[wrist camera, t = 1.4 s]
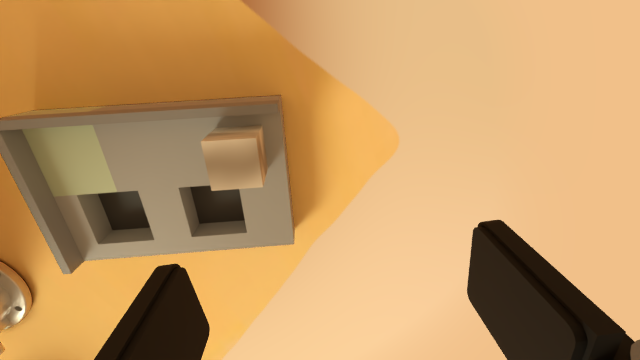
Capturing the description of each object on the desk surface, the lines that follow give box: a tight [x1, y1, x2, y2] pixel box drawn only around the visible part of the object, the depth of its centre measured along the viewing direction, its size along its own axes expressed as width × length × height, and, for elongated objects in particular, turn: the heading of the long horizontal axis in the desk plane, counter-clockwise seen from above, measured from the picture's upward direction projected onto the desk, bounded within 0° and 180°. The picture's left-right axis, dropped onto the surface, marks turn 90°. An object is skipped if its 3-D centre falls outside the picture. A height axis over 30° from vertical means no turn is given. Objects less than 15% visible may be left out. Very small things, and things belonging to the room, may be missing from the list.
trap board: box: [0, 95, 295, 274], centre depth 30 cm, size 16×24×5 cm, turn 93°
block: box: [201, 125, 268, 191], centre depth 26 cm, size 4×4×4 cm
